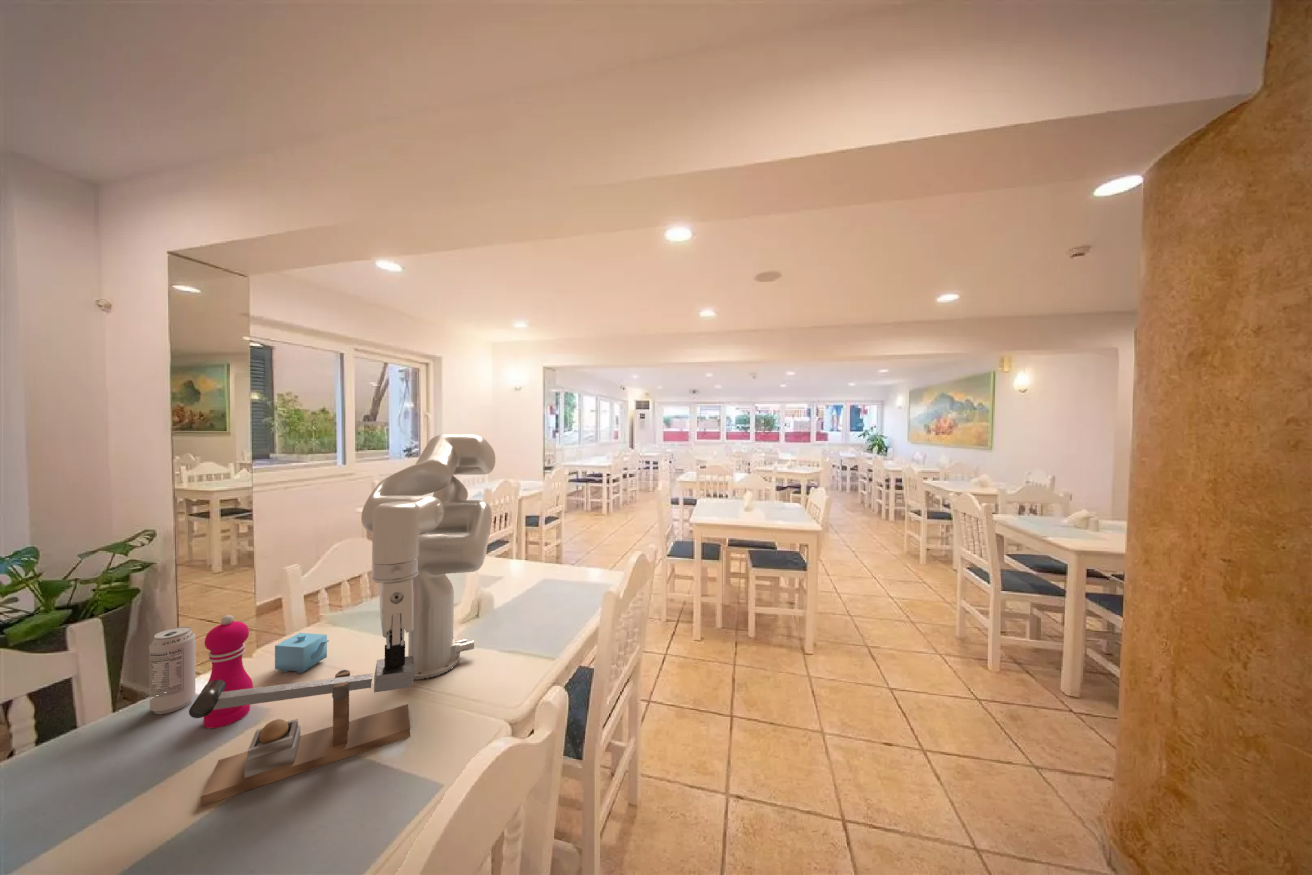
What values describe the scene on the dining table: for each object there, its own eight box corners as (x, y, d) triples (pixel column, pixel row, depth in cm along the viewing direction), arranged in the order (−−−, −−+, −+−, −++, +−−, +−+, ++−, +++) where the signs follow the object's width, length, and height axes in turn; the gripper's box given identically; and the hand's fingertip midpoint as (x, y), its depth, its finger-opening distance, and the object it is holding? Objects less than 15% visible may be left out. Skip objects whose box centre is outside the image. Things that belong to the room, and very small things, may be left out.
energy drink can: (204, 695, 88) (204, 624, 87) (176, 714, 82) (175, 638, 81) (170, 697, 87) (170, 625, 86) (139, 717, 81) (139, 640, 80)
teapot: (339, 661, 101) (339, 630, 101) (317, 676, 95) (317, 643, 95) (294, 658, 102) (294, 627, 102) (268, 672, 96) (268, 640, 96)
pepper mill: (218, 733, 77) (218, 626, 76) (189, 727, 78) (188, 621, 78) (263, 707, 84) (263, 609, 84) (235, 702, 85) (234, 605, 85)
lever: (410, 671, 83) (412, 655, 83) (411, 687, 78) (414, 670, 78) (201, 698, 67) (205, 678, 67) (186, 720, 62) (191, 699, 62)
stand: (408, 711, 84) (408, 651, 84) (410, 736, 77) (410, 671, 77) (218, 768, 69) (218, 696, 69) (201, 805, 63) (200, 726, 62)
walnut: (290, 731, 72) (290, 711, 72) (286, 745, 69) (286, 724, 69) (262, 740, 70) (262, 719, 70) (256, 754, 67) (256, 732, 67)
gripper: (422, 576, 74) (421, 679, 74) (415, 555, 87) (414, 643, 87) (371, 584, 70) (370, 693, 70) (372, 561, 83) (371, 653, 83)
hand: (394, 665), depth 79 cm, fingers closed
